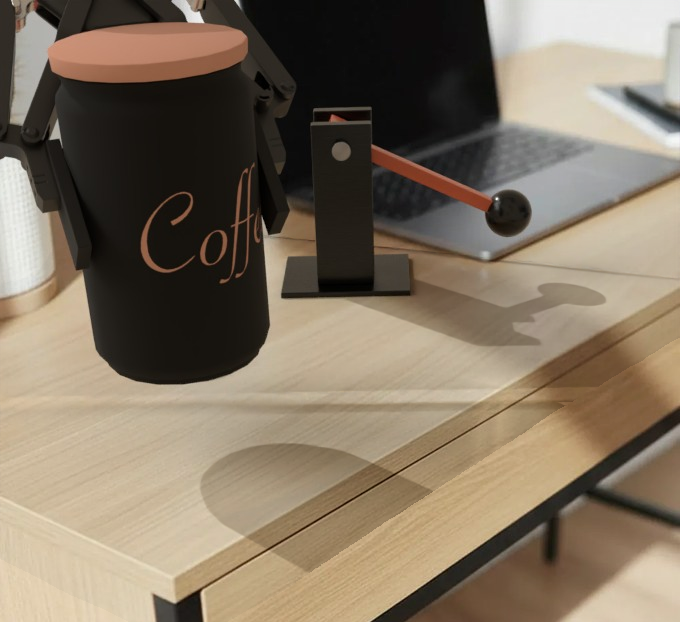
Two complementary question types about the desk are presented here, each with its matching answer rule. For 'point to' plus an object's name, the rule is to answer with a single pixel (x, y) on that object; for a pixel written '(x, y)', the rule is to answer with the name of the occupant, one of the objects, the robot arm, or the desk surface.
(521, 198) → the lever with ball knob
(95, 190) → the coffee jar
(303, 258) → the post on base plate
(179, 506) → the desk surface
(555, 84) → the desk surface
